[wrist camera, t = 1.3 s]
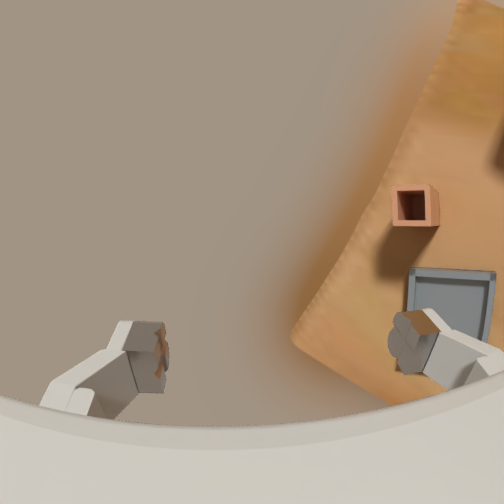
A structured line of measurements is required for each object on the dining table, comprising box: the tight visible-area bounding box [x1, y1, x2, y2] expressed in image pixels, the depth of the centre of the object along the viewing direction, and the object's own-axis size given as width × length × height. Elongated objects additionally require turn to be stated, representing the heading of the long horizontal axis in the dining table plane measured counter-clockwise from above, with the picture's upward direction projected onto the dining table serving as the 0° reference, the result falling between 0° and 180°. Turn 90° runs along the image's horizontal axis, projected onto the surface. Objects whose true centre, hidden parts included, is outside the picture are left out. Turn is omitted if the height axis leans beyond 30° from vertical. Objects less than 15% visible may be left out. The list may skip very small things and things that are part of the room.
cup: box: [391, 184, 440, 226], centre depth 38 cm, size 5×5×11 cm
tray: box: [407, 267, 496, 343], centre depth 39 cm, size 14×16×2 cm
